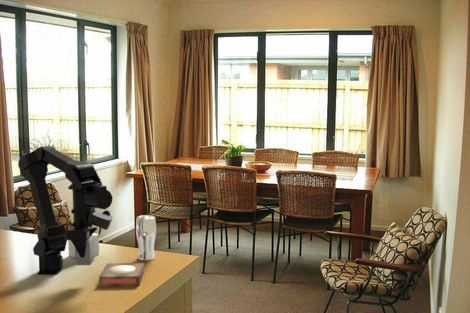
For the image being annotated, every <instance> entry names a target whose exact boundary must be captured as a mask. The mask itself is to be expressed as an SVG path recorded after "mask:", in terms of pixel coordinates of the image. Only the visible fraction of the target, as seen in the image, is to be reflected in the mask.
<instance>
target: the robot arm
mask: <svg viewBox="0 0 470 313" xmlns="http://www.w3.org/2000/svg"><path fill="white" fill-rule="evenodd" d="M17 165H18V168H19V170H20V173H21V176H22V177H23V178H24V179H25V181H27V182H28V183H29V186H30V190H31V194H32V198H33V202H34V205H35V206H34V207H35V210H36V213H37V217H38V221H39V224H40V226H39V228H38V231H37V242H36V243H35V245H34V247H33V248H32V251H33V255H35V256H37V257H38V271H37V275H54V274H55V275H58V274H59V272H60V271H62V269H63V268H64V264H63V263H64V258H63V255H62V253H61V252H64V251H66V246H67V243H68V240H71V241H72V243H73V245H74V246H75V248H76V250H77V252H78V254H79V255H80V257H84V256H85V250H86V242H87V240H88V239H89V238H90V237H91V235H92V234H93V233H95V232H96V231H97V230H98V228H101V229H102V230H105V231H107V230H109V228H110V226H111V224H112V223H111V222H112V220H113V216H112V215H111V210H108V208H110V207H111V205H112V202H113V195H112V193H111V191H109V190H108V189H107V185H103V183H102V180H101V178H100V176H99V174H98V172H97V170H96V169H95V166H94V165H93V164H92V163H90V162H86V161H81V160H75V159H73V158H71V157H70V156H68V155H66V154H65V153H62V152H61V151H59V150H58V149H56V148H55V146H52V145H47V146H39V147H37V148H36V149H35V150H33V151H31V152H29V153H27V154H24V155H22V156H21V157H20V159H19V160H18V162H17ZM49 165H51V166H53V167H54V168H56V169H58V170H59V171H61V172H63V173H64V177H65V178H66V179H67V180H68V181H69V182H70V183H71V184H70V185H68V187H67V189H68V190H71V191H72V209H71V211H70V213H71V214H72V217H73V222H72V223H71V227H70V228H69V229H68V230H67V231H66V227H65V225H64V223H62V224H60V223H58V221H57V219H56V216H55V212H54V208H53V203H52V200H51V196H50V192H49V189H48V185H47V181H46V177H47V174H48V171H49V168H48V166H49ZM96 209H99V210H104V211H103V212H100V211H99V212H98V211H96ZM92 225H93V226H92ZM94 226H95V227H94Z"/></svg>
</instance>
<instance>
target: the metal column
mask: <svg viewBox="0 0 470 313" xmlns="http://www.w3.org/2000/svg"><path fill="white" fill-rule="evenodd" d="M74 260H75V262H74V263H75V266H91V265H92V263H93V262H94V261H95V256H94V247H93V235H91V237H90V238H89V239H88V240H87V242H86V250H85V256H84V257H80V255H79V254H78V252H77V250H76V248H75V258H74Z"/></svg>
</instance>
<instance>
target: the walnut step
mask: <svg viewBox="0 0 470 313" xmlns="http://www.w3.org/2000/svg"><path fill="white" fill-rule="evenodd" d="M144 274H145V263H144V262H136V263H135V262H131V263H130V262H128V263H127V262H124V263H123V262H121V263H120V262H119V263H118V262H117V263H110V262H109V263H106V265H105V266H104V268H103V270H102V272H101V273H100V275H99V276H98V281H99V282H98V283H99V284H98V286H99V287H125V286H127V287H128V286H129V287H132V286H135V287H136V286H140V284H141V283H142V280H143V276H144Z"/></svg>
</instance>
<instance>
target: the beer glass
mask: <svg viewBox="0 0 470 313" xmlns="http://www.w3.org/2000/svg"><path fill="white" fill-rule="evenodd" d="M156 222H157V221H156V216H155V215H151V214H145V215H144V214H143V215H137V216H136V224H135V225H136V226H135V232H136V240H137V243H138V244H137V246H138V254H137V255H138V256H137V259H138V260H139V261H142V262H148V261H149V262H150V261H153V260H155V259H156V254H155V242H156V235H157V223H156Z"/></svg>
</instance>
